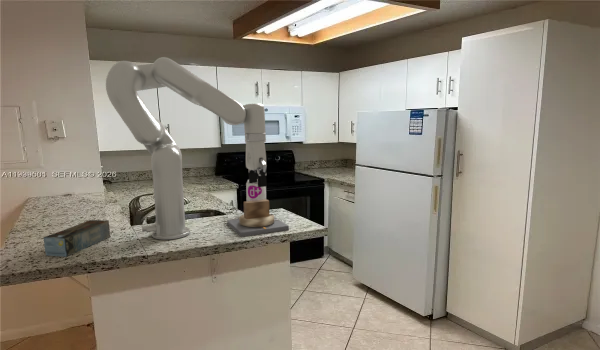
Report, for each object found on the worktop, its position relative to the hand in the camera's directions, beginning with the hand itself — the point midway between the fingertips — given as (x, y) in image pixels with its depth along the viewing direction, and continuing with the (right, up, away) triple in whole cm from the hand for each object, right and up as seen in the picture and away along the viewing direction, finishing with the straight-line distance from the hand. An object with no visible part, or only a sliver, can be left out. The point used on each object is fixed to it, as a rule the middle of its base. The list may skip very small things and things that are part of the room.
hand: (257, 184), depth 133 cm
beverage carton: (-55, -20, -17) cm, 61 cm away
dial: (0, -14, +2) cm, 14 cm away
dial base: (0, -16, +2) cm, 16 cm away
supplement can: (-3, -14, +20) cm, 24 cm away
